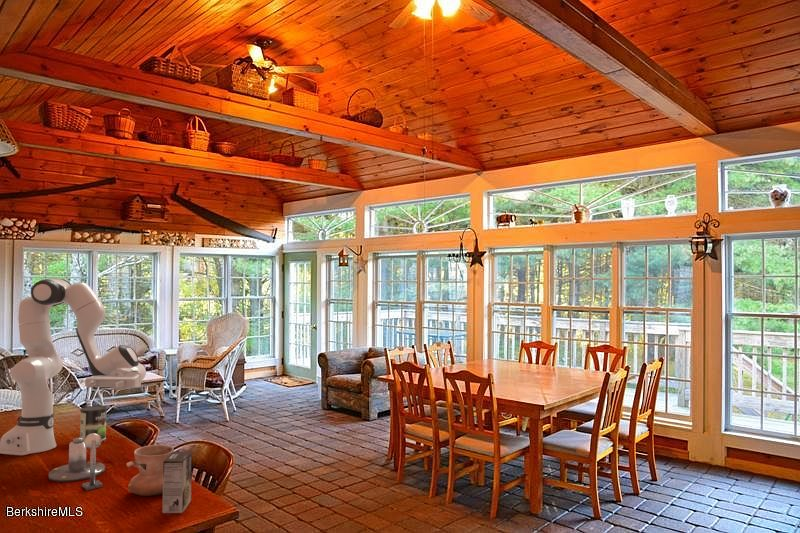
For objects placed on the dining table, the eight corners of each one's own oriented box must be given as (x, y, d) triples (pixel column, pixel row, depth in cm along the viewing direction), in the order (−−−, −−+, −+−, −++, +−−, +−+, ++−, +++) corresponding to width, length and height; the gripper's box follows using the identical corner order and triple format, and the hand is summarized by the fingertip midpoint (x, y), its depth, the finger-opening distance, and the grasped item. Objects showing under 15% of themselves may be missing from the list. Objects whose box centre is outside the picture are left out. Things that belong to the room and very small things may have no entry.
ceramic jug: (130, 504, 178) (132, 459, 179) (119, 490, 189) (121, 448, 190) (188, 492, 189) (189, 450, 190) (174, 480, 201) (176, 440, 201)
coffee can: (111, 437, 252) (112, 406, 253) (94, 443, 242) (95, 411, 243) (91, 435, 254) (92, 404, 255) (74, 442, 244) (74, 409, 245)
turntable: (36, 481, 197) (37, 477, 197) (67, 464, 215) (68, 460, 215) (87, 482, 197) (87, 478, 197) (114, 465, 215) (114, 461, 215)
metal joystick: (102, 486, 193) (103, 434, 193) (86, 490, 189) (87, 437, 190) (98, 482, 196) (99, 431, 197) (82, 486, 193) (83, 434, 193)
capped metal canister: (65, 472, 203) (66, 440, 204) (74, 467, 209) (75, 436, 209) (80, 472, 203) (81, 440, 204) (88, 467, 209) (89, 436, 209)
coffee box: (171, 501, 181) (172, 451, 181) (191, 501, 181) (192, 451, 182) (161, 513, 172) (162, 460, 172) (182, 513, 172) (183, 460, 172)
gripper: (96, 371, 233) (76, 376, 219) (144, 371, 233) (128, 377, 219) (95, 386, 233) (76, 393, 219) (144, 386, 232) (127, 393, 219)
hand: (102, 385), depth 219 cm, fingers open, 8 cm apart
